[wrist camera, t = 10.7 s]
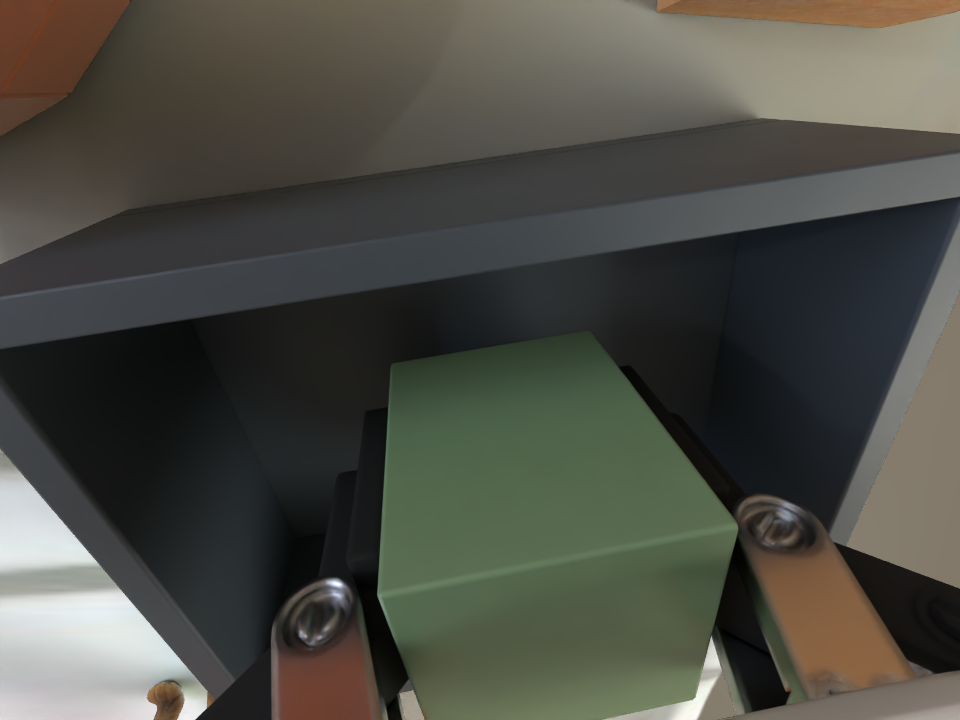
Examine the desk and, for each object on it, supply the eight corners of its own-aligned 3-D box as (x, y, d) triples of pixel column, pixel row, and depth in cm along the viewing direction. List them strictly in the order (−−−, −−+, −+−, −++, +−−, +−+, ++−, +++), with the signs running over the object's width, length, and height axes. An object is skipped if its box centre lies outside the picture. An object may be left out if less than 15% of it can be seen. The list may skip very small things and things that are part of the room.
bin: (125, 209, 11) (-120, 315, 6) (763, 117, 12) (1032, 139, 7) (288, 536, 16) (236, 728, 12) (702, 458, 17) (821, 605, 12)
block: (390, 362, 10) (375, 597, 6) (590, 328, 11) (743, 525, 6) (426, 505, 13) (437, 757, 8) (589, 474, 13) (696, 700, 8)
